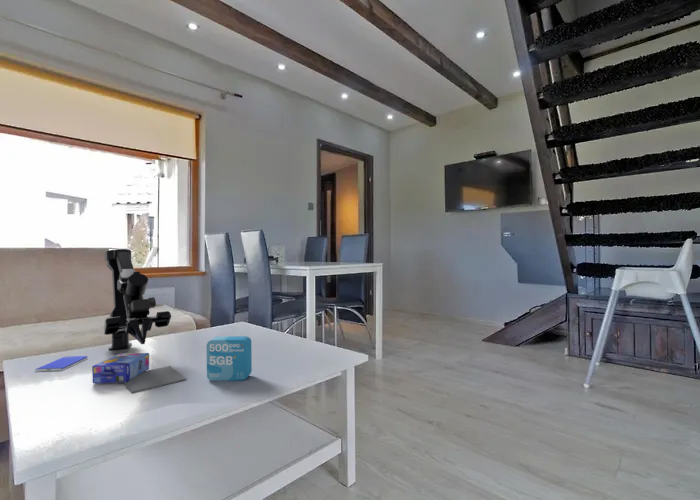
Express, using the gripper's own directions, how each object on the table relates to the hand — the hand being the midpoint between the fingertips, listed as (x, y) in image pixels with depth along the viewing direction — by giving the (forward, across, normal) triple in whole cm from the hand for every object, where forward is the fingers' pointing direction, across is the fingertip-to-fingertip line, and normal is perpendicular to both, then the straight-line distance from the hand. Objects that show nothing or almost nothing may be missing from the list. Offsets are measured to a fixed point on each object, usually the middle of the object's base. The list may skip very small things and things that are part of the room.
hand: (143, 343), depth 112 cm
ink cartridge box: (+2, -2, +5) cm, 6 cm away
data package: (+25, +17, -12) cm, 32 cm away
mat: (+14, 0, -1) cm, 14 cm away
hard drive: (-12, -18, +25) cm, 33 cm away
